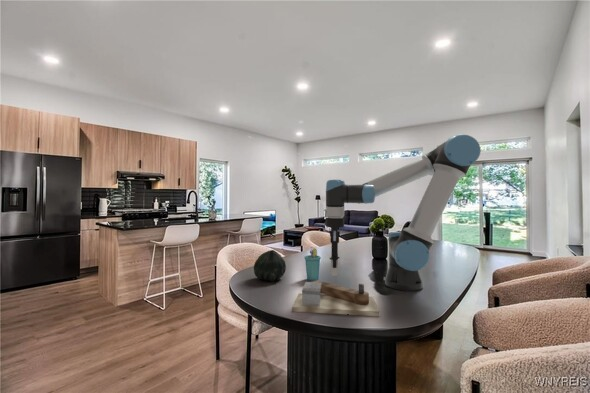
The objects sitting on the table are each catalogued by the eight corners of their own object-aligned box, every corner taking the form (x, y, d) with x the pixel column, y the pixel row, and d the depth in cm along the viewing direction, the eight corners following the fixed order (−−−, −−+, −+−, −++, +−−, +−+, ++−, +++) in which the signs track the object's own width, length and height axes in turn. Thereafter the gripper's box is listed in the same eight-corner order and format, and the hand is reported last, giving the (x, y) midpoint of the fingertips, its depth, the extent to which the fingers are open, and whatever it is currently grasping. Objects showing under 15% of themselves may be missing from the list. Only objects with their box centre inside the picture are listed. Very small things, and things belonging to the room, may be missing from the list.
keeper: (321, 296, 103) (321, 282, 103) (319, 306, 93) (319, 291, 93) (305, 295, 104) (305, 282, 104) (302, 305, 94) (302, 290, 94)
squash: (259, 263, 142) (255, 244, 133) (288, 264, 141) (286, 245, 131) (253, 287, 132) (248, 269, 122) (284, 289, 130) (282, 271, 120)
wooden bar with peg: (371, 301, 96) (371, 284, 96) (364, 305, 92) (363, 287, 92) (317, 287, 113) (317, 272, 113) (309, 290, 109) (309, 275, 109)
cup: (319, 284, 123) (319, 250, 123) (302, 283, 124) (302, 250, 125) (321, 276, 137) (321, 245, 137) (306, 275, 138) (305, 245, 138)
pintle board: (373, 300, 102) (373, 296, 102) (379, 316, 88) (379, 311, 88) (298, 297, 106) (298, 293, 106) (292, 311, 92) (292, 306, 92)
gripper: (326, 216, 121) (326, 270, 120) (324, 218, 108) (324, 279, 107) (343, 216, 120) (343, 271, 119) (344, 218, 107) (344, 280, 106)
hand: (334, 275), depth 113 cm, fingers closed
